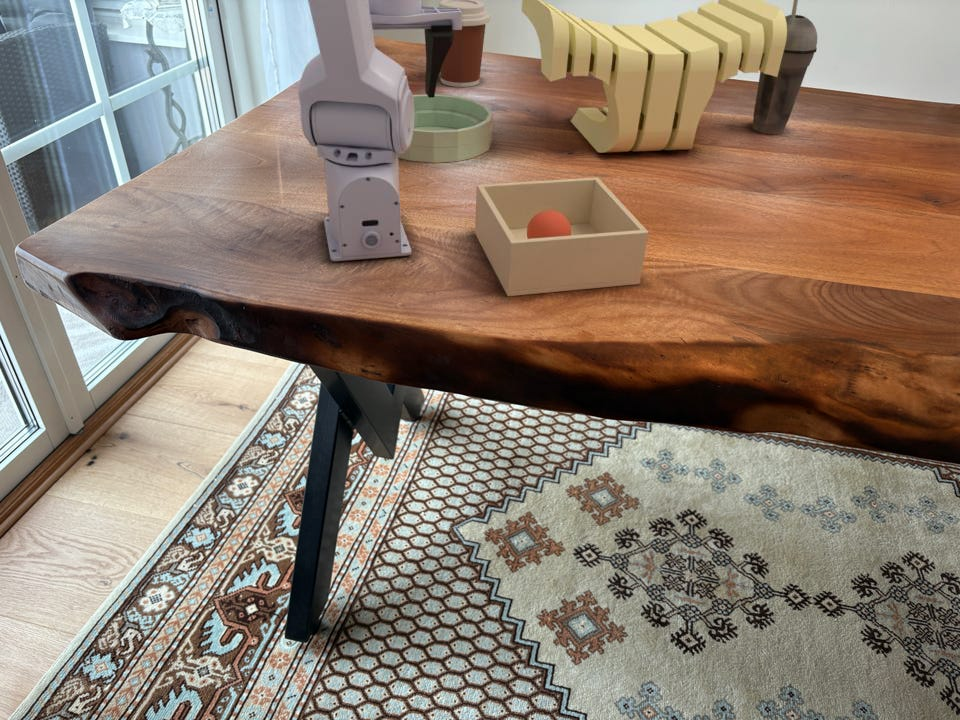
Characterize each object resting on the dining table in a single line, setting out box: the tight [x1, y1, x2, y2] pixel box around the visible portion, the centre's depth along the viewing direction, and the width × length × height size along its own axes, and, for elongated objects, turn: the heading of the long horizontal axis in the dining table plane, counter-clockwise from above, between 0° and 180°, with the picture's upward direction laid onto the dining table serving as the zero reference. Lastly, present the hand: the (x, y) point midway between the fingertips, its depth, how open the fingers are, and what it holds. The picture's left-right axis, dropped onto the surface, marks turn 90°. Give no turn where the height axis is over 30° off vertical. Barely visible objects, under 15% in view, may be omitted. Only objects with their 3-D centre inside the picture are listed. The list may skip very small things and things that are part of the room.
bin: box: [474, 176, 649, 297], centre depth 76 cm, size 13×13×6 cm
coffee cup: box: [438, 0, 491, 88], centre depth 124 cm, size 9×9×12 cm
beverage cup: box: [751, 0, 818, 135], centre depth 107 cm, size 7×7×20 cm
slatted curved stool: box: [521, 0, 787, 154], centre depth 102 cm, size 30×16×18 cm, turn 101°
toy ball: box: [527, 210, 571, 239], centre depth 76 cm, size 4×4×4 cm
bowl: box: [398, 93, 494, 164], centre depth 101 cm, size 15×15×4 cm
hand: (397, 96), depth 89 cm, fingers open, 7 cm apart
